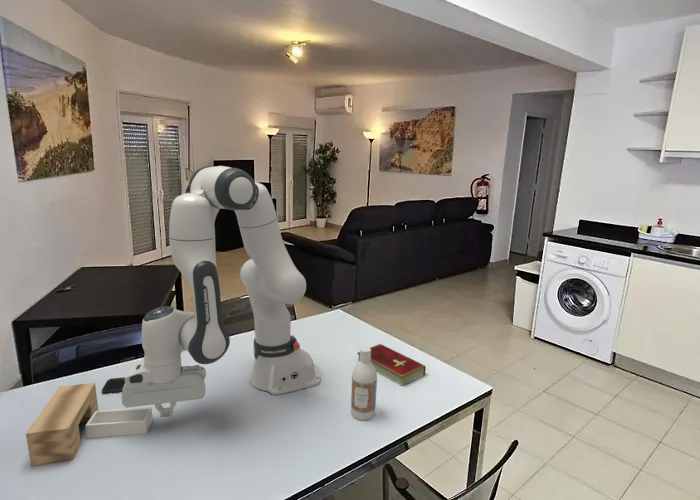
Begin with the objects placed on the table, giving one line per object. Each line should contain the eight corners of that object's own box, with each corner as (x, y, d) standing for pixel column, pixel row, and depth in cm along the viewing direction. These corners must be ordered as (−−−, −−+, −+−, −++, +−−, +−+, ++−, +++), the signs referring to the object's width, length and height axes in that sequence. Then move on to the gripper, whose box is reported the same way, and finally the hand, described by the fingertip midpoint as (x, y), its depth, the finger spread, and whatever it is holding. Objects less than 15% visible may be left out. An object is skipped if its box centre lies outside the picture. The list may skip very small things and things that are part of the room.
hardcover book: (380, 353, 157) (380, 342, 156) (425, 375, 142) (425, 364, 141) (356, 362, 149) (357, 351, 149) (401, 388, 134) (402, 376, 133)
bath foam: (347, 418, 118) (349, 352, 113) (354, 404, 124) (357, 341, 120) (371, 423, 116) (374, 356, 111) (377, 409, 122) (380, 345, 118)
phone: (108, 378, 132) (159, 373, 136) (108, 382, 133) (159, 377, 136) (100, 392, 125) (155, 386, 129) (100, 395, 125) (155, 390, 129)
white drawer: (152, 420, 115) (151, 407, 114) (146, 434, 109) (145, 421, 108) (97, 424, 112) (95, 411, 111) (87, 439, 107) (85, 425, 106)
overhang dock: (98, 410, 118) (95, 382, 116) (73, 459, 99) (68, 428, 97) (63, 414, 116) (59, 386, 114) (31, 465, 97) (25, 433, 95)
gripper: (206, 359, 115) (208, 403, 119) (123, 366, 110) (128, 413, 113) (204, 370, 110) (207, 417, 113) (117, 379, 104) (122, 428, 107)
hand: (166, 415), depth 113 cm, fingers closed
